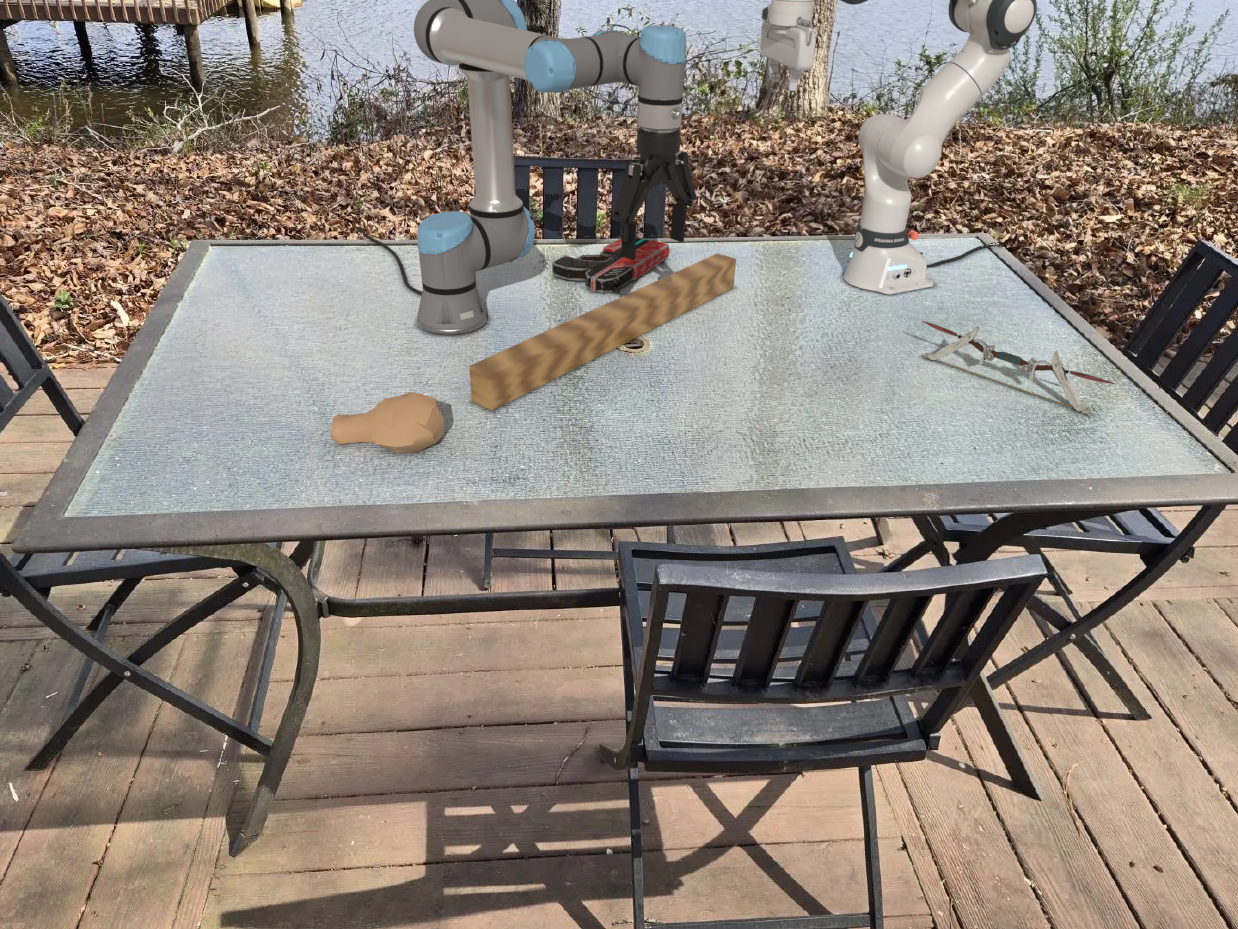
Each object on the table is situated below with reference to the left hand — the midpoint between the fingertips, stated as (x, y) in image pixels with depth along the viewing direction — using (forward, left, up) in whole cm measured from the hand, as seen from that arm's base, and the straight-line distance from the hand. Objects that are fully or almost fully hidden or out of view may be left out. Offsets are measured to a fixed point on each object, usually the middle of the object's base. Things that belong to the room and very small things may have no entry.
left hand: (653, 248), depth 161 cm
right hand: (-15, +55, +20) cm, 60 cm away
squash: (-14, -51, -27) cm, 59 cm away
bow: (+49, +53, -27) cm, 78 cm away
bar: (-18, +10, -27) cm, 34 cm away
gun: (-48, +36, -27) cm, 66 cm away
